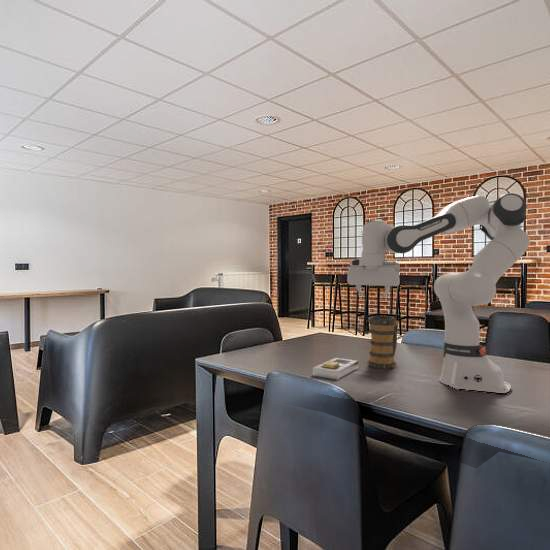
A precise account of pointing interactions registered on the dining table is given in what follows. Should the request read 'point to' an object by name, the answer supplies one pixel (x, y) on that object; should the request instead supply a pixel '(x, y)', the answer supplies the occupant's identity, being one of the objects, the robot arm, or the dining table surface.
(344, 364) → the white flat tray
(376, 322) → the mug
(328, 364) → the yellow cube
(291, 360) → the dining table surface
